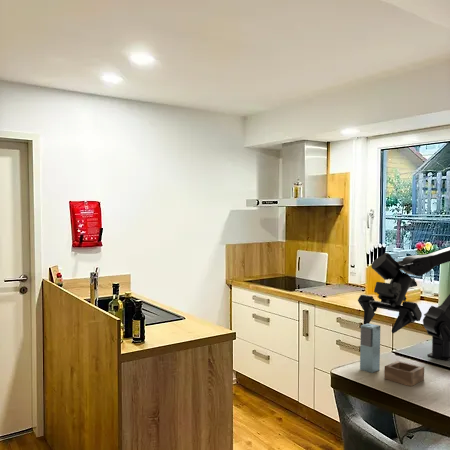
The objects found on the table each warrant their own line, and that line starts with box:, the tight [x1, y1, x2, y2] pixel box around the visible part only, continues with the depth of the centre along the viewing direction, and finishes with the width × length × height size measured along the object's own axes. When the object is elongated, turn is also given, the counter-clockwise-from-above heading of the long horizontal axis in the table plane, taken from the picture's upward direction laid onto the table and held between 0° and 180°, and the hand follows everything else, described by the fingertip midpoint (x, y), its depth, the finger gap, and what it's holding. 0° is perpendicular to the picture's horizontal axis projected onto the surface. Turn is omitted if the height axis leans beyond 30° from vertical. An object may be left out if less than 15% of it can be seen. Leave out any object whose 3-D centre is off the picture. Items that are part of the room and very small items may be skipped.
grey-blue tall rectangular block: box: [359, 323, 381, 374], centre depth 135 cm, size 4×4×13 cm
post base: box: [383, 360, 425, 387], centre depth 128 cm, size 8×8×4 cm
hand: (378, 329), depth 139 cm, fingers open, 9 cm apart
